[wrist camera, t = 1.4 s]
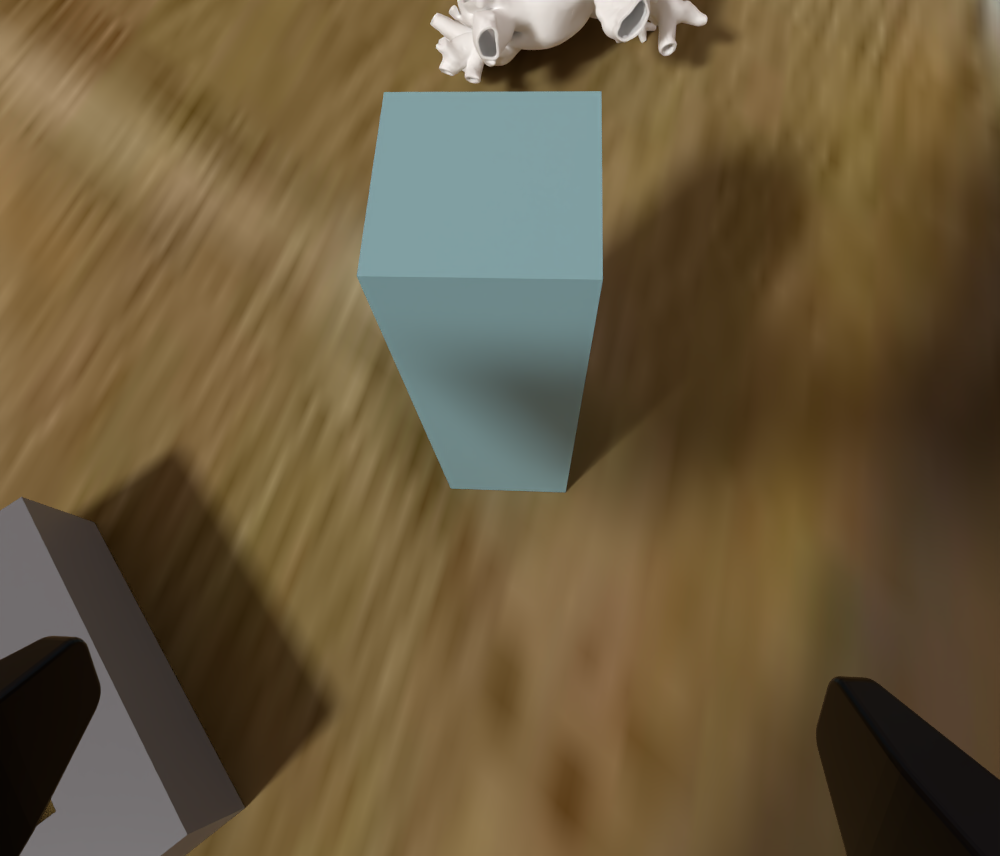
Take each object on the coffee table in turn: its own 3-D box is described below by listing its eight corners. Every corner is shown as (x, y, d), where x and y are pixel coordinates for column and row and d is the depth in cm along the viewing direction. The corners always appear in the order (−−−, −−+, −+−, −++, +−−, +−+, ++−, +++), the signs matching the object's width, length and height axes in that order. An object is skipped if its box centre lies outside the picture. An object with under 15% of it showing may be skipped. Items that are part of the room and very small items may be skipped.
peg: (565, 492, 23) (603, 279, 10) (450, 488, 23) (356, 276, 11) (567, 386, 24) (601, 91, 12) (458, 384, 24) (384, 92, 12)
